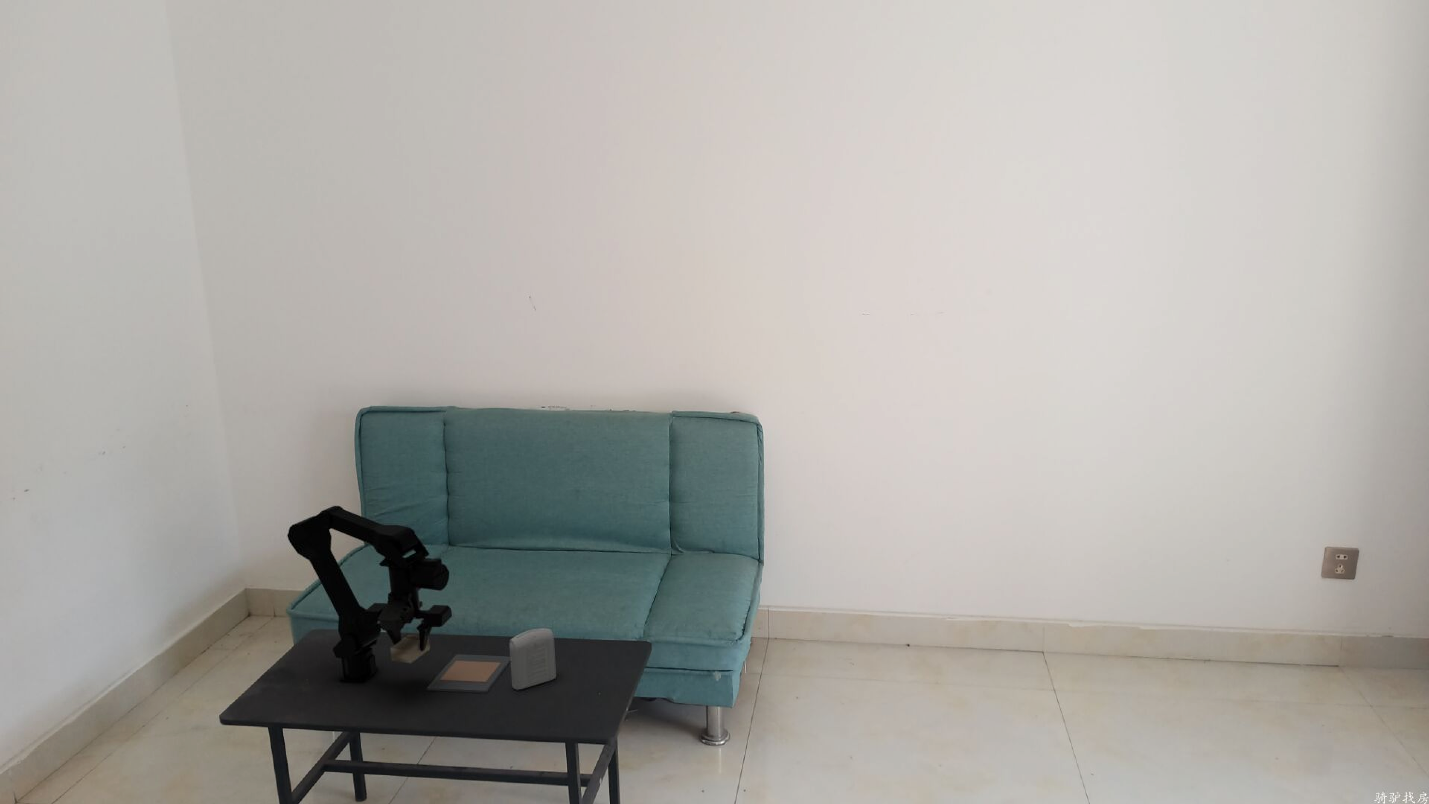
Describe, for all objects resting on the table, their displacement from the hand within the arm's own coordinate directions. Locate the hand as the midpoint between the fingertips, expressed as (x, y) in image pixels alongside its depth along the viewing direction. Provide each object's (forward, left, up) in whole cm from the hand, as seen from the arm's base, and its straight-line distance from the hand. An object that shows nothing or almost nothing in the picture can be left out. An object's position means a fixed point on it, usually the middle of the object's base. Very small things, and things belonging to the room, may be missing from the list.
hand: (410, 650), depth 210 cm
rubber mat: (+11, +6, -8) cm, 15 cm away
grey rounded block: (+27, +4, -9) cm, 29 cm away
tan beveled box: (0, 0, -1) cm, 1 cm away
